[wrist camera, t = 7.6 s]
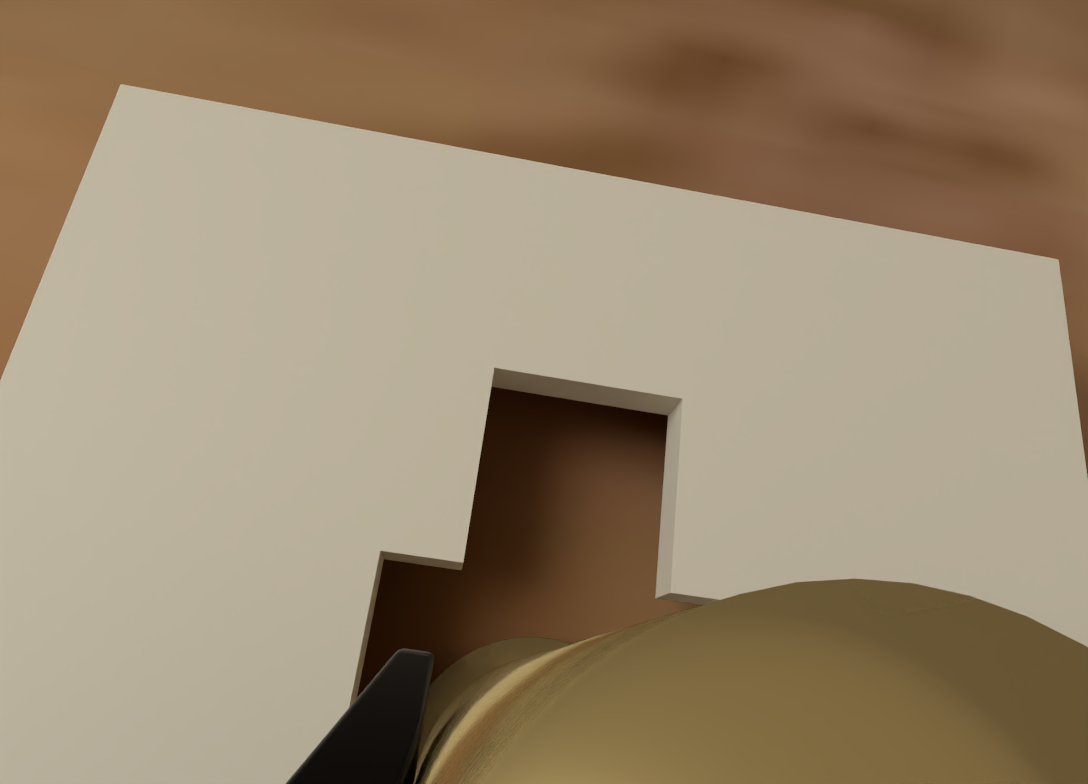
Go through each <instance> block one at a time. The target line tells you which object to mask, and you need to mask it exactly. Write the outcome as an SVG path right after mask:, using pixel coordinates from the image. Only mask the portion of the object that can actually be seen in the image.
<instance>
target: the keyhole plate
mask: <svg viewBox="0 0 1088 784" xmlns="http://www.w3.org/2000/svg"><path fill="white" fill-rule="evenodd" d="M491 387H496V388H503V389H509V390H515V391H521V392H527V393H533V394H539V395H545V396H552V397H558V398H564V399H570V400H576V401H582V402H588V403H594V404H601V405H607V406H613V407H619V408H625V409H631V410H637V411H644V412H650V413H656V414H662V415H668V422H667V437H666V451H665V466H664V480H663V494H662V509H661V523H660V537H659V552H658V566H657V580H656V595H655V598H657V599H663V600H670V601H677V602H684V603H691V604H698V605H704V604H708V603H711V602H715V601H718V600H721V599H725V598H728V597H732V596H735V595H738V594H742V593H747V592H752V591H757V590H762V589H766V588H771V587H776V586H781V585H785V584H790V583H795V582H806V581H823V580H839V579H867V580H879V581H892V582H904V583H914V584H919V585H923V586H928V587H932V588H937V589H941V590H946V591H951V592H955V593H960V594H964V595H969V596H972V597H975V598H978V599H980V600H983V601H986V602H989V603H992V604H994V605H997V606H1000V607H1003V608H1005V609H1008V610H1011V611H1014V612H1017V613H1019V614H1022V615H1025V616H1028V617H1030V618H1032V619H1034V620H1036V621H1038V622H1039V623H1041V624H1043V625H1045V626H1047V627H1049V628H1051V629H1053V630H1055V631H1057V632H1059V633H1061V634H1063V635H1065V636H1067V637H1069V638H1071V639H1073V640H1075V641H1077V642H1079V643H1081V644H1083V645H1085V646H1086V647H1088V478H1087V470H1086V463H1085V455H1084V448H1083V440H1082V433H1081V425H1080V418H1079V410H1078V403H1077V395H1076V388H1075V380H1074V373H1073V365H1072V358H1071V350H1070V343H1069V335H1068V328H1067V320H1066V313H1065V305H1064V298H1063V290H1062V283H1061V275H1060V268H1059V260H1058V259H1053V258H1048V257H1042V256H1037V255H1032V254H1026V253H1021V252H1015V251H1010V250H1005V249H999V248H994V247H989V246H983V245H978V244H973V243H967V242H962V241H957V240H951V239H946V238H941V237H935V236H930V235H925V234H919V233H914V232H909V231H903V230H898V229H892V228H887V227H882V226H876V225H871V224H866V223H860V222H855V221H850V220H844V219H839V218H834V217H828V216H823V215H818V214H812V213H807V212H802V211H796V210H791V209H786V208H780V207H775V206H769V205H764V204H759V203H753V202H748V201H743V200H737V199H732V198H727V197H721V196H716V195H711V194H705V193H700V192H695V191H689V190H684V189H679V188H673V187H668V186H663V185H657V184H652V183H646V182H641V181H636V180H630V179H625V178H620V177H614V176H609V175H604V174H598V173H593V172H588V171H582V170H577V169H572V168H566V167H561V166H556V165H550V164H545V163H540V162H534V161H529V160H523V159H518V158H513V157H507V156H502V155H497V154H491V153H486V152H481V151H475V150H470V149H465V148H459V147H454V146H449V145H443V144H438V143H433V142H427V141H422V140H417V139H411V138H406V137H400V136H395V135H390V134H384V133H379V132H374V131H368V130H363V129H358V128H352V127H347V126H342V125H336V124H331V123H326V122H320V121H315V120H310V119H304V118H299V117H294V116H288V115H283V114H277V113H272V112H267V111H261V110H256V109H251V108H245V107H240V106H235V105H229V104H224V103H219V102H213V101H208V100H203V99H197V98H192V97H187V96H181V95H176V94H171V93H165V92H160V91H155V90H149V89H144V88H138V87H133V86H128V85H122V84H121V85H120V87H119V90H118V92H117V95H116V97H115V100H114V102H113V105H112V107H111V109H110V112H109V114H108V117H107V119H106V122H105V124H104V127H103V129H102V132H101V134H100V137H99V139H98V141H97V144H96V146H95V149H94V151H93V154H92V156H91V159H90V161H89V164H88V166H87V169H86V171H85V173H84V176H83V178H82V181H81V183H80V186H79V188H78V191H77V193H76V196H75V198H74V201H73V203H72V205H71V208H70V210H69V213H68V215H67V218H66V220H65V223H64V225H63V228H62V230H61V233H60V235H59V237H58V240H57V242H56V245H55V247H54V250H53V252H52V255H51V257H50V260H49V262H48V265H47V267H46V269H45V272H44V274H43V277H42V279H41V282H40V284H39V287H38V289H37V292H36V294H35V297H34V299H33V301H32V304H31V306H30V309H29V311H28V314H27V316H26V319H25V321H24V324H23V326H22V329H21V331H20V333H19V336H18V338H17V341H16V343H15V346H14V348H13V351H12V353H11V356H10V358H9V361H8V363H7V365H6V368H5V370H4V373H3V375H2V378H1V380H0V784H286V782H287V781H288V780H289V779H290V778H291V776H292V775H293V774H294V773H295V772H296V770H297V769H298V768H299V767H300V766H301V764H302V763H303V762H304V761H305V760H306V759H307V757H308V756H309V755H310V754H311V753H312V751H313V750H314V749H315V748H316V747H317V745H318V744H319V743H320V742H321V741H322V739H323V738H324V737H325V736H326V735H327V733H328V732H329V731H330V730H331V729H332V727H333V726H334V725H335V724H336V723H337V721H338V720H339V719H340V718H341V717H342V716H343V714H344V713H345V712H346V711H347V710H348V708H349V707H350V706H351V705H352V704H353V702H354V701H355V700H356V699H357V694H358V689H359V684H360V679H361V674H362V669H363V664H364V658H365V653H366V648H367V643H368V638H369V633H370V628H371V623H372V618H373V612H374V607H375V602H376V597H377V592H378V587H379V582H380V577H381V572H382V567H383V561H384V559H386V560H393V561H399V562H406V563H413V564H420V565H427V566H434V567H441V568H448V569H455V570H462V566H463V562H464V555H465V549H466V543H467V536H468V530H469V524H470V518H471V511H472V505H473V499H474V492H475V486H476V480H477V474H478V467H479V461H480V455H481V448H482V442H483V436H484V430H485V423H486V417H487V411H488V404H489V398H490V392H491Z"/></svg>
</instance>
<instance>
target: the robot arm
mask: <svg viewBox="0 0 1088 784" xmlns="http://www.w3.org/2000/svg"><path fill="white" fill-rule="evenodd" d="M433 663H434V656H433V654H432V653H431V652H427V651H419V650H412V649H400V650H398V651H397V652H395V654H394V655H393V656H392V657H391V658H390V659H389V661H388V662H387V663H386V664H385V665H384V667H383V668H382V669H381V670H380V671H379V673H378V674H377V675H376V676H375V677H374V679H373V680H372V681H371V682H370V683H369V684H368V686H367V687H366V688H365V689H364V690H363V692H362V693H361V694H360V695H359V696H358V698H357V699H356V700H355V701H354V702H353V704H352V705H351V706H350V707H349V708H348V710H347V711H346V712H345V713H344V714H343V716H342V717H341V718H340V719H339V720H338V721H337V723H336V724H335V725H334V726H333V727H332V729H331V730H330V731H329V732H328V733H327V735H326V736H325V737H324V738H323V739H322V741H321V742H320V743H319V744H318V745H317V747H316V748H315V749H314V750H313V751H312V753H311V754H310V755H309V756H308V757H307V759H306V760H305V761H304V762H303V763H302V764H301V766H300V767H299V768H298V769H297V770H296V772H295V773H294V774H293V775H292V776H291V778H290V779H289V780H288V781H287V782H286V784H414V780H415V774H416V768H417V762H418V756H419V750H420V744H421V738H422V732H423V726H424V719H425V713H426V707H427V701H428V695H429V688H430V682H431V676H432V670H433Z"/></svg>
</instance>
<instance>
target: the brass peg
mask: <svg viewBox="0 0 1088 784" xmlns="http://www.w3.org/2000/svg"><path fill="white" fill-rule="evenodd" d="M414 784H1088V647H1086V646H1085V645H1083V644H1081V643H1079V642H1077V641H1075V640H1073V639H1071V638H1069V637H1067V636H1065V635H1063V634H1061V633H1059V632H1057V631H1055V630H1053V629H1051V628H1049V627H1047V626H1045V625H1043V624H1041V623H1039V622H1038V621H1036V620H1034V619H1032V618H1030V617H1028V616H1025V615H1022V614H1019V613H1017V612H1014V611H1011V610H1008V609H1005V608H1003V607H1000V606H997V605H994V604H992V603H989V602H986V601H983V600H980V599H978V598H975V597H972V596H969V595H964V594H960V593H955V592H951V591H946V590H941V589H937V588H932V587H928V586H923V585H919V584H914V583H904V582H892V581H879V580H867V579H839V580H823V581H806V582H795V583H790V584H785V585H781V586H776V587H771V588H766V589H762V590H757V591H752V592H747V593H742V594H738V595H735V596H732V597H728V598H725V599H721V600H718V601H715V602H711V603H708V604H704V605H701V606H698V607H694V608H691V609H687V610H684V611H681V612H677V613H674V614H670V615H667V616H664V617H660V618H657V619H653V620H650V621H647V622H643V623H640V624H636V625H633V626H630V627H626V628H623V629H619V630H616V631H613V632H609V633H606V634H603V635H599V636H596V637H592V638H589V639H586V640H582V641H579V642H575V643H572V644H569V643H566V642H563V641H558V640H553V639H549V638H537V637H524V638H512V639H508V640H503V641H498V642H495V643H492V644H489V645H486V646H484V647H481V648H479V649H477V650H475V651H473V652H471V653H469V654H467V655H465V656H464V657H462V658H461V659H459V660H458V661H456V662H455V663H454V664H452V665H451V666H449V667H448V668H447V669H446V670H445V671H444V672H443V673H442V674H441V675H439V676H438V677H437V678H436V679H435V680H434V682H433V683H432V684H431V685H430V688H429V695H428V701H427V707H426V713H425V719H424V726H423V732H422V738H421V744H420V750H419V756H418V762H417V768H416V774H415V780H414Z"/></svg>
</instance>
